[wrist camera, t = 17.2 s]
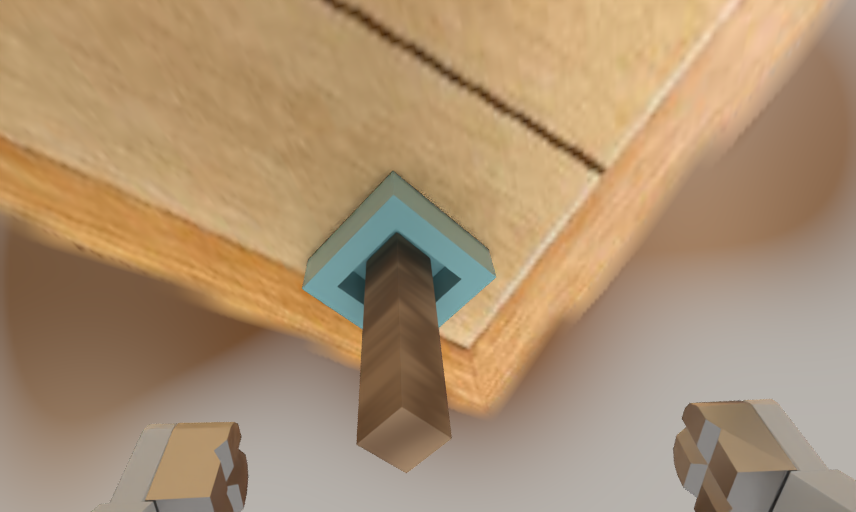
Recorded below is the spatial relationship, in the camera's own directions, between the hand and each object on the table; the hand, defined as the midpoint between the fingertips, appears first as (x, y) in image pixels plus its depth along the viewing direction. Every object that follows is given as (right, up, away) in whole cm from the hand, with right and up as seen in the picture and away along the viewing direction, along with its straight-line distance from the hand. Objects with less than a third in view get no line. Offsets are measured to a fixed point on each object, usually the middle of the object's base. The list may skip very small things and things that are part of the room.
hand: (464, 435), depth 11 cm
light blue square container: (-3, +3, +37) cm, 37 cm away
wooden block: (-3, +3, +36) cm, 36 cm away
